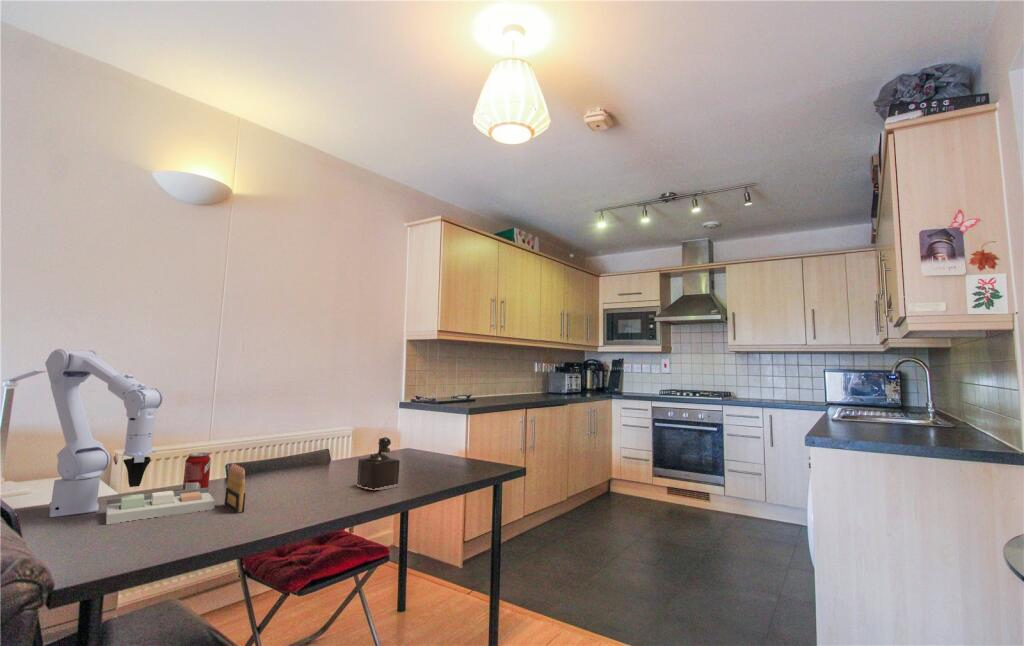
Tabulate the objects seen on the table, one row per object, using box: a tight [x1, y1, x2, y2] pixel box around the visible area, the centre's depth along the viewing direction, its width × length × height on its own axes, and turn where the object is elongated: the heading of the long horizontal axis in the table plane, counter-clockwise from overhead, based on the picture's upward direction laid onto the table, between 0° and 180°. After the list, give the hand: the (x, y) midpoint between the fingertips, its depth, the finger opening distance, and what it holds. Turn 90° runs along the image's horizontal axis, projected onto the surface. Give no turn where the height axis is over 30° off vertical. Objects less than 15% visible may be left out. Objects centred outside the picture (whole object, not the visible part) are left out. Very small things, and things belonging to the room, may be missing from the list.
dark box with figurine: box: [356, 436, 401, 489], centre depth 162 cm, size 16×11×18 cm
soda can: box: [182, 452, 212, 491], centre depth 149 cm, size 7×7×12 cm
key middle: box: [151, 490, 174, 506], centre depth 130 cm, size 5×5×3 cm
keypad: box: [105, 487, 216, 525], centre depth 129 cm, size 23×12×4 cm, turn 131°
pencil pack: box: [223, 462, 246, 514], centre depth 134 cm, size 11×2×12 cm, turn 47°
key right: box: [180, 492, 202, 502], centre depth 134 cm, size 5×5×3 cm
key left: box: [120, 493, 145, 510], centre depth 125 cm, size 5×5×3 cm
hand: (134, 486), depth 126 cm, fingers closed
